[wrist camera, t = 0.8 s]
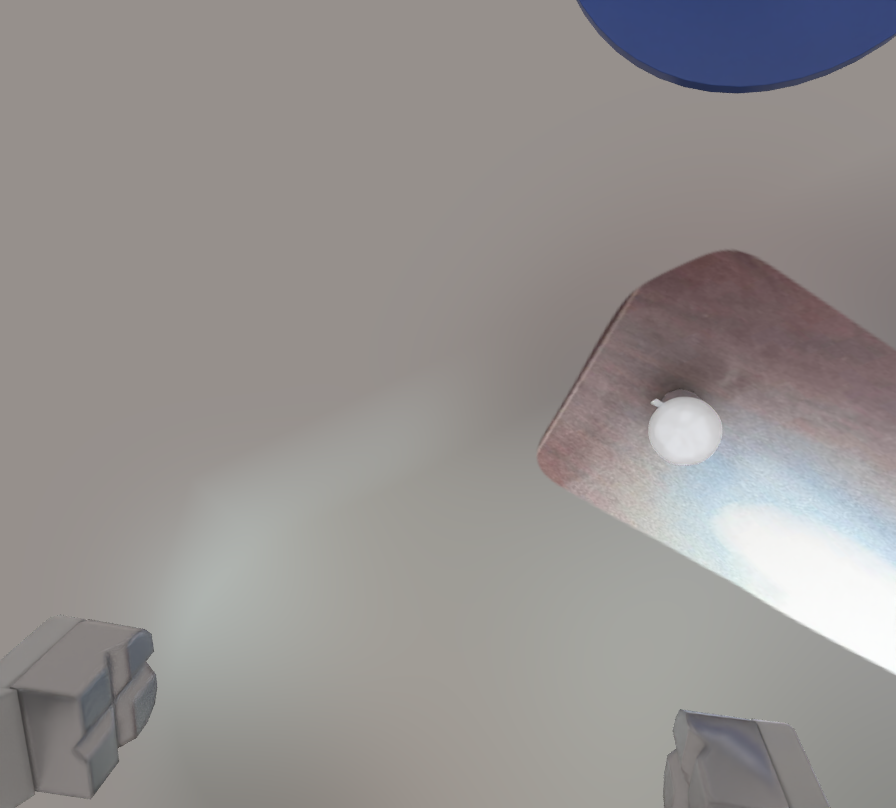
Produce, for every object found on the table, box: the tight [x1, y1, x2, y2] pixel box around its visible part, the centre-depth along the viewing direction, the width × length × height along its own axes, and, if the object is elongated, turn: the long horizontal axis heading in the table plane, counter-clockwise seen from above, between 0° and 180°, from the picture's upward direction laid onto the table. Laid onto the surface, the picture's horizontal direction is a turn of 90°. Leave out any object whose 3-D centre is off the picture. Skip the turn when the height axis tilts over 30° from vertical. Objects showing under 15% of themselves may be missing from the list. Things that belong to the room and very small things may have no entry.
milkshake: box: [648, 388, 723, 466], centre depth 47 cm, size 4×5×10 cm
